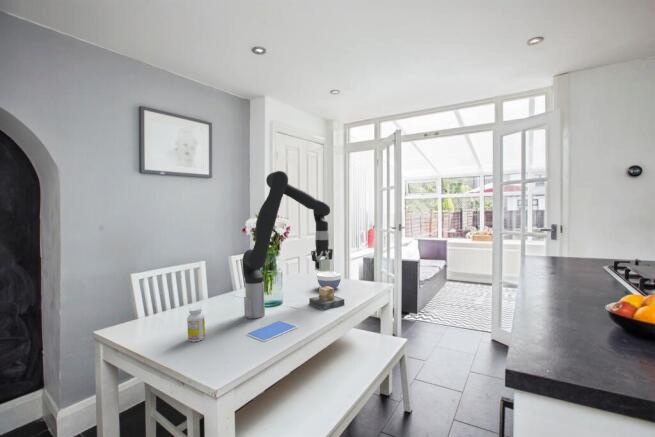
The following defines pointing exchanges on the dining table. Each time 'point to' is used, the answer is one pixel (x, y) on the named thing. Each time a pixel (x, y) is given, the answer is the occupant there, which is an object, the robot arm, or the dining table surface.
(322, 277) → the bowl
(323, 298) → the oak block
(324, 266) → the sage block
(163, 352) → the dining table surface
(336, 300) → the slate base
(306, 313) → the dining table surface
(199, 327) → the supplement bottle
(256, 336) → the tablet computer
